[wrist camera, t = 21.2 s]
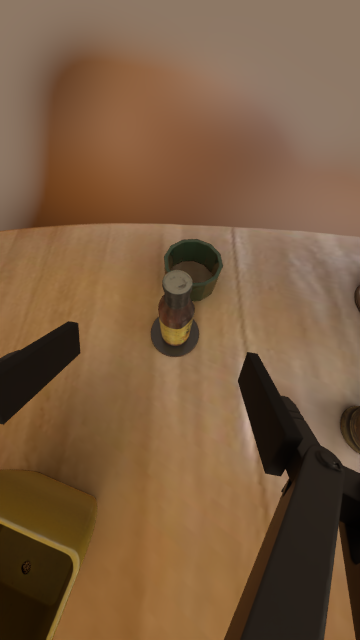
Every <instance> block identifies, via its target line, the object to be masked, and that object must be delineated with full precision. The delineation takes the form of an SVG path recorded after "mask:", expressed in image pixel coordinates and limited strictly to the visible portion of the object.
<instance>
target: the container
mask: <svg viewBox="0 0 360 640" xmlns="http://www.w3.org/2000/svg"><path fill="white" fill-rule="evenodd" d="M341 431H342V434H343V437H344V439H345V440H346V442H347V443H348V445H349V446H350V447H351V448H352V449H353V450H355V451H356V452H358V453H359V454H360V406H354V407H351V408H348V409H347V410H346V411H345V412H344V413H343V415H342V417H341Z"/></svg>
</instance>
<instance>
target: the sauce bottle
mask: <svg viewBox="0 0 360 640" xmlns="http://www.w3.org/2000/svg"><path fill="white" fill-rule="evenodd" d="M192 284H193V282H192V278H191V277H190V275H189V274H188V273H186V272H184V271H182V270H172V271H170V272H168V273H167V274H166V275H165V276H164V278H163V290H164V292H165V294H164V295H163V296H162V298H161V300H160V302H159V306H158V307H159V308H158V310H159V321H160V328H161V334H162V337H163V339H164V340H165V341H166V343H168V344H170V345H173V346H178V345H181V344H183V343H184V342H185V341H186V340H187V338H188V336H189V333H190V329H191V325H192V321H193V317H194V312H195V308H194V304H193V302H192V301H191V299H190V293H191V291H192Z"/></svg>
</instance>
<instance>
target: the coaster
mask: <svg viewBox="0 0 360 640" xmlns="http://www.w3.org/2000/svg"><path fill="white" fill-rule="evenodd" d="M198 338H199V330H198V326H197V324H196V322H195V321H194V319H193V321H192V325H191V329H190V333H189V336H188V338H187V340H186V341H185V342H184V343H183V344H181V345H178V346H173V345H170V344H168V343H166V341H165V340H164V339H163V337H162V334H161V328H160V321H159V317H158V318H157V319H156V320H155V322H154V323H153V325H152V329H151V339H152V342H153V344H154V346H155V347H156V349H157V350H158V351H159V352H161V353H162V354H164V355H166V356H170V357H180V356H184V355H186V354H188V353H189V352H191V351H192V350H193V349H194V347H195V346H196V344H197V342H198Z"/></svg>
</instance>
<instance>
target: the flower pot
mask: <svg viewBox="0 0 360 640" xmlns="http://www.w3.org/2000/svg"><path fill="white" fill-rule="evenodd" d="M96 516H97V502H96V499H95V498H94V497H93V496H91V495H89V494H87V493H84V492H82V491H80V490H77V489H75V488H73V487H70V486H68V485H66V484H64V483H61V482H59V481H57V480H54V479H52V478H50V477H48V476H45V475H43V474H41V473H39V472H34V471H26V470H0V640H52V639H53V637H54V634H55V632H56V629H57V626H58V624H59V621H60V619H61V616H62V613H63V611H64V608H65V606H66V603H67V601H68V598H69V595H70V593H71V590H72V588H73V585H74V583H75V580H76V577H77V575H78V572H79V570H80V567H81V564H82V562H83V559H84V557H85V554H86V551H87V548H88V546H89V543H90V540H91V537H92V534H93V530H94V526H95V522H96ZM25 561H30V563H31V569H30V571H29V572H28V573H27V574H23V573H22V571H21V568H22V565H23V563H24V562H25Z"/></svg>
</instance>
